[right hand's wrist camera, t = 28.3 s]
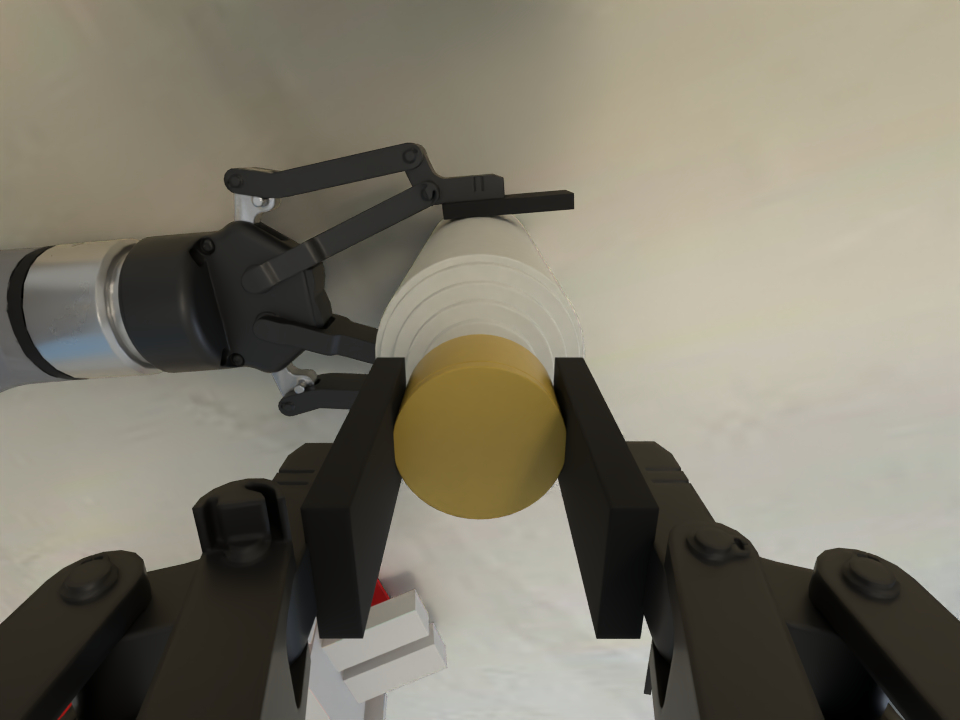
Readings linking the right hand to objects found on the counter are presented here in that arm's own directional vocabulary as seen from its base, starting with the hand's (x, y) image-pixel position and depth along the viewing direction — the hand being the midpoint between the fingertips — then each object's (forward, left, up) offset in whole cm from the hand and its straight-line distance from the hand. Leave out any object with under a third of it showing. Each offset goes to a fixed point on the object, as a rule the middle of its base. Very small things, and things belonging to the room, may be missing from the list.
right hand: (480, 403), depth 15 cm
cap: (0, 0, +2) cm, 2 cm away
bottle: (0, 0, -22) cm, 22 cm away
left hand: (-3, +4, -15) cm, 16 cm away
